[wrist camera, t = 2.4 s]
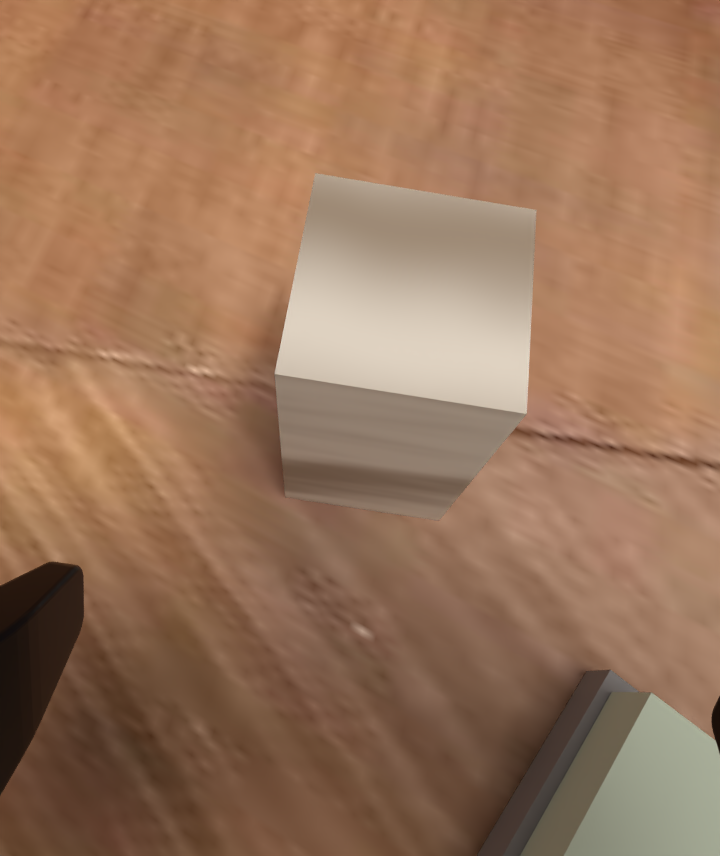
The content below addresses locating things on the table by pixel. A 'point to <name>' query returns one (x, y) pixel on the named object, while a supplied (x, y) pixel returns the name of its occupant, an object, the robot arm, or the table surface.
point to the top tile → (636, 787)
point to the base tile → (551, 764)
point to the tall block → (402, 345)
